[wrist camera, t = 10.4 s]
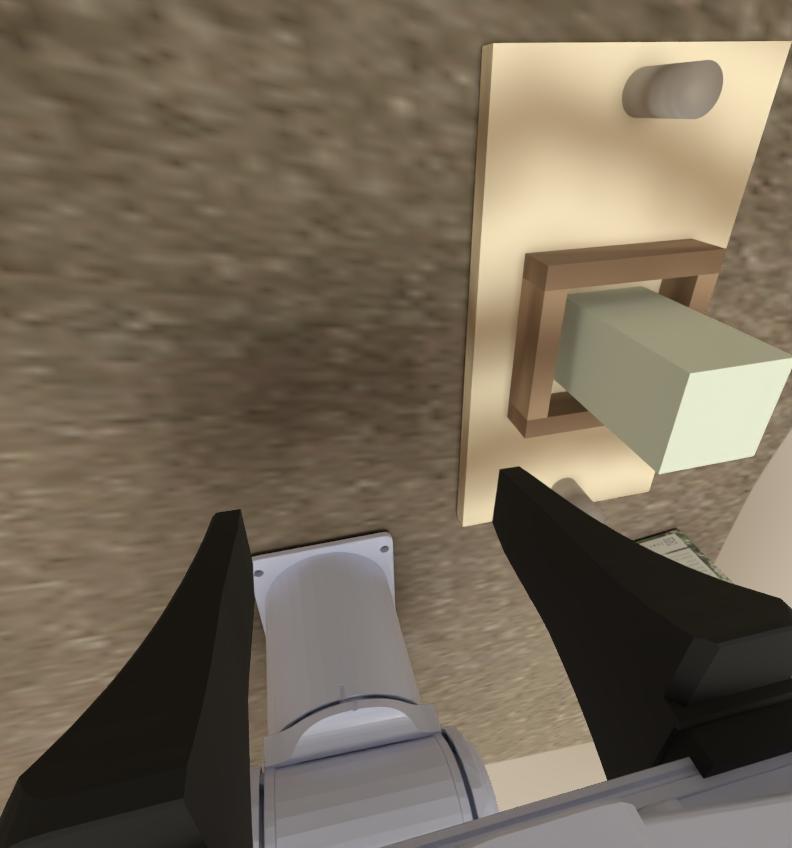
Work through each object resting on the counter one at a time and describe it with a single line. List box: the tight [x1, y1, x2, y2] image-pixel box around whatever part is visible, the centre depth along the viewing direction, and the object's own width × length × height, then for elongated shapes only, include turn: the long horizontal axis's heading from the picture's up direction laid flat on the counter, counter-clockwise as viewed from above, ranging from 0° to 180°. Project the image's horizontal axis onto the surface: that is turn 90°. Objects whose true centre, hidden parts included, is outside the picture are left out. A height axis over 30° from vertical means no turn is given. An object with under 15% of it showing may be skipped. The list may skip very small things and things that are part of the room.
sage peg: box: [554, 286, 792, 474], centre depth 20 cm, size 4×4×8 cm
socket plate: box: [457, 41, 792, 527], centre depth 23 cm, size 22×12×4 cm, turn 1°
